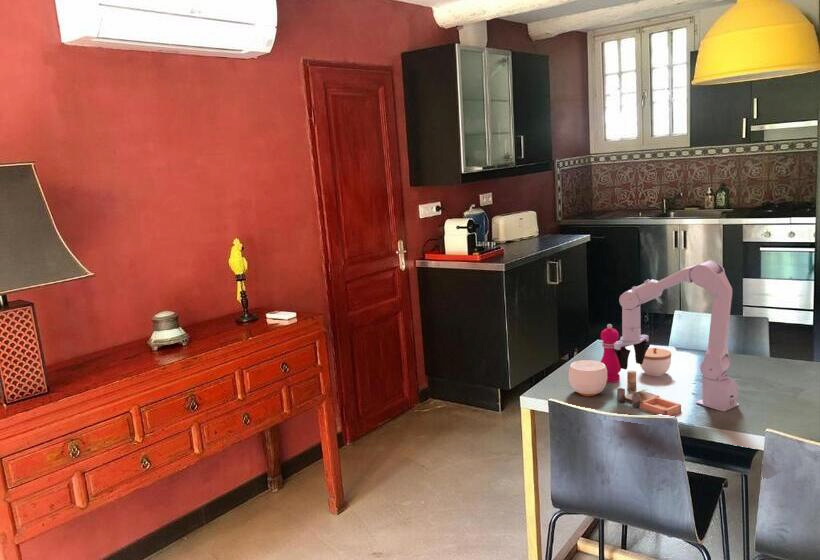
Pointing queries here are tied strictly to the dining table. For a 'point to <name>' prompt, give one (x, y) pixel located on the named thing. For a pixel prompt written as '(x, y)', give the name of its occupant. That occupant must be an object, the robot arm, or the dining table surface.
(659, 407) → the dish
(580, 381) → the cup
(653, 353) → the lidded jar
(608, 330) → the pepper mill
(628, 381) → the dowel
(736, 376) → the dining table surface
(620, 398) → the bench dogs
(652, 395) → the tan flat wooden block
